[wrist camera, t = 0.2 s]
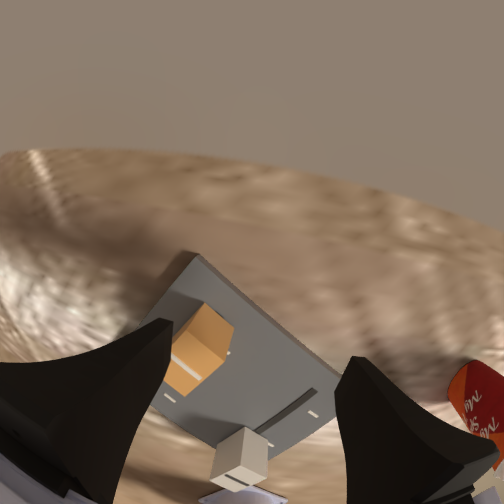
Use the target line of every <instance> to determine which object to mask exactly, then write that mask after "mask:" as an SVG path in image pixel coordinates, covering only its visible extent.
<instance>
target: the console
mask: <svg viewBox="0 0 504 504" xmlns="http://www.w3.org/2000/svg"><path fill="white" fill-rule="evenodd" d="M204 303H206V304H207V305H208V306H209V307H211V308H212V309H213V310H214V311H215V312H216V313H217V314H219V315H220V316H221V317H222V318H223V319H224V320H226V321H227V322H228V323H229V324H230V325H232V326H233V327H234V331H233V334H232V338H231V341H230V345H229V348H228V352H227V355H226V359H225V362H224V363H223V364H222V365H220V366H219V367H218V368H217V369H216V370H215V371H214V372H213V373H212V374H210V375H209V376H208V377H207V378H206V379H205V380H204V381H202V382H201V383H200V384H199V385H198V386H197V387H196V388H194V389H193V390H192V391H191V392H190V393H189V394H187V395H186V396H185V397H184V396H183V395H182V394H180V393H179V392H178V391H176V390H175V389H174V388H172V387H171V386H170V385H169V384H167V383H166V382H165V381H164V380H163V382H162V384H161V386H160V387H159V389H158V391H157V393H156V395H155V396H154V398H153V400H152V402H151V404H150V405H151V406H152V407H154V408H155V409H156V410H158V411H159V412H160V413H162V414H163V415H164V416H166V417H167V418H168V419H170V420H171V421H173V422H174V423H176V424H177V425H178V426H180V427H181V428H183V429H184V430H186V431H187V432H189V433H190V434H192V435H194V436H195V437H197V438H198V439H200V440H201V441H203V442H205V443H206V444H208V445H210V446H211V447H213V448H215V449H216V448H217V444H219V443H220V442H222V441H223V440H225V439H227V438H228V437H230V436H231V435H233V434H234V433H236V432H237V431H239V430H240V429H242V428H243V427H247V428H249V429H250V430H252V431H253V432H255V433H257V434H259V435H260V436H262V437H264V438H265V439H267V440H268V460H270V459H272V458H273V457H275V456H277V455H279V454H280V453H282V452H284V451H285V450H287V449H289V448H290V447H292V446H294V445H295V444H297V443H298V442H300V441H301V440H303V439H304V438H306V437H308V436H309V435H311V434H312V433H314V432H315V431H316V430H318V429H319V428H321V427H322V426H324V425H325V424H326V423H328V422H329V421H331V420H332V419H333V418H335V417H336V411H335V398H334V391H335V389H336V387H337V385H338V383H339V381H340V379H341V377H342V375H341V374H339V373H338V372H337V371H335V370H334V369H333V368H332V367H331V366H329V365H328V364H327V363H326V362H324V361H323V360H322V359H321V358H319V357H318V356H317V355H316V354H314V353H313V352H312V351H311V350H310V349H308V348H307V347H306V346H305V345H304V344H302V343H301V342H300V341H299V340H297V339H296V338H295V337H294V336H293V335H291V334H290V333H289V332H288V331H287V330H286V329H284V328H283V327H282V326H281V325H280V324H278V323H277V322H276V321H275V320H274V319H273V318H271V317H270V316H269V315H268V314H267V313H266V312H264V311H263V310H262V309H261V308H260V307H259V306H257V305H256V304H255V303H254V302H253V301H252V300H250V299H249V298H248V297H247V296H246V295H245V294H244V293H242V292H241V291H240V290H239V289H238V288H237V287H236V286H234V285H233V284H232V283H231V282H230V281H229V280H228V279H227V278H225V277H224V276H223V275H222V274H221V273H220V272H219V271H218V270H217V269H215V268H214V267H213V266H212V265H211V264H210V263H209V262H208V261H207V260H205V259H204V258H203V257H202V256H201V255H200V254H199V255H197V256H196V257H195V258H194V259H193V260H192V261H191V262H190V264H189V265H188V266H187V267H186V268H185V269H184V271H183V272H182V273H181V274H180V275H179V277H178V278H177V279H176V280H175V281H174V283H173V284H172V285H171V286H170V287H169V289H168V290H167V291H166V292H165V294H164V295H163V296H162V297H161V298H160V300H159V301H158V302H157V303H156V305H155V306H154V307H153V308H152V310H151V311H150V312H149V313H148V314H147V316H146V317H145V318H144V319H143V321H142V322H141V323H140V325H139V326H138V327H137V328H136V330H137V329H139V328H141V327H143V326H144V325H146V324H148V323H150V322H152V321H153V320H155V319H157V318H159V317H160V318H163V319H167V320H170V321H174V323H173V335H172V338H173V336H174V335H175V334H176V333H177V332H178V331H179V330H180V329H181V328H182V327H183V325H184V324H185V323H186V322H187V321H188V320H189V319H190V318H191V317H192V316H193V315H194V313H195V312H196V311H197V310H198V309H199V308H200V307H201V306H202V305H203V304H204Z"/></svg>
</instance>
